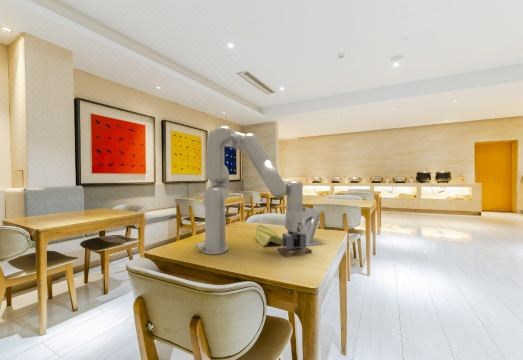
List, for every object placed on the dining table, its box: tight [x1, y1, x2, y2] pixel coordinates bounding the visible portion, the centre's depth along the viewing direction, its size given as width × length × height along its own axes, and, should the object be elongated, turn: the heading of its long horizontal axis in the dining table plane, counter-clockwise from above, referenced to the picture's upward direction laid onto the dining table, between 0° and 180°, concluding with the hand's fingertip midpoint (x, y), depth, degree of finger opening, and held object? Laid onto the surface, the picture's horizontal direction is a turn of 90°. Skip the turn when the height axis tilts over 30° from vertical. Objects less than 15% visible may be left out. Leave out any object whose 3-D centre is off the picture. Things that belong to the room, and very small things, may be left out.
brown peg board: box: [276, 246, 312, 258], centre depth 112 cm, size 14×8×6 cm, turn 110°
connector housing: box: [281, 232, 307, 249], centre depth 111 cm, size 10×5×6 cm, turn 110°
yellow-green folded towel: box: [255, 224, 282, 247], centre depth 130 cm, size 20×7×10 cm
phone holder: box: [296, 206, 322, 247], centre depth 130 cm, size 17×10×18 cm, turn 22°
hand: (294, 244), depth 112 cm, fingers closed on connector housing, 5 cm apart
